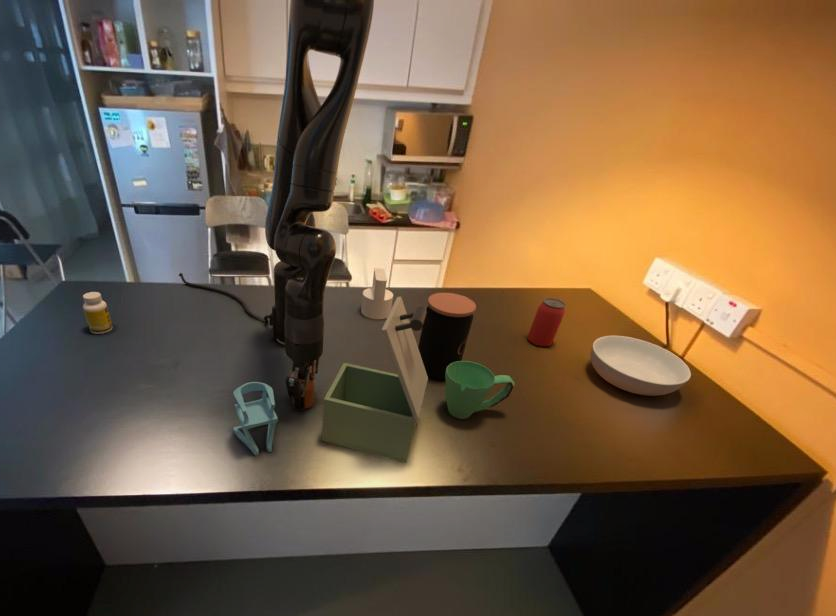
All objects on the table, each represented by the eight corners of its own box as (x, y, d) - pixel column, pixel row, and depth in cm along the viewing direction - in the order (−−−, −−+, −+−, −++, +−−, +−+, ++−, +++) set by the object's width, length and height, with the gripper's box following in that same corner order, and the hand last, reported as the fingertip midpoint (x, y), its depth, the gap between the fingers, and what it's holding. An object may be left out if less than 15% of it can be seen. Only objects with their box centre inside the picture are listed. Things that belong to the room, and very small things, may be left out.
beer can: (526, 344, 118) (541, 304, 110) (527, 333, 123) (541, 295, 115) (551, 350, 116) (568, 310, 109) (551, 339, 121) (567, 300, 114)
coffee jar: (458, 384, 100) (477, 316, 90) (413, 377, 102) (427, 309, 91) (457, 360, 109) (475, 295, 98) (415, 354, 110) (428, 289, 99)
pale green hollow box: (321, 440, 83) (323, 399, 77) (340, 402, 93) (343, 362, 87) (406, 462, 79) (415, 421, 73) (416, 420, 89) (425, 380, 83)
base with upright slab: (391, 320, 125) (397, 281, 118) (361, 318, 125) (365, 279, 117) (389, 306, 132) (394, 269, 125) (360, 304, 132) (364, 267, 125)
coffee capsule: (289, 405, 91) (289, 387, 88) (297, 393, 94) (297, 375, 91) (309, 410, 90) (310, 392, 87) (316, 398, 93) (317, 380, 90)
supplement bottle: (115, 331, 111) (105, 297, 105) (92, 336, 109) (81, 301, 103) (111, 322, 115) (101, 289, 109) (88, 327, 112) (77, 293, 106)
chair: (243, 459, 78) (237, 409, 71) (233, 430, 84) (227, 381, 77) (283, 449, 80) (282, 399, 73) (271, 421, 86) (268, 373, 79)
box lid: (381, 330, 65) (414, 322, 63) (396, 297, 75) (426, 289, 73) (414, 419, 73) (444, 415, 71) (424, 378, 83) (451, 374, 81)
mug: (442, 426, 88) (453, 388, 82) (431, 397, 96) (440, 360, 90) (511, 427, 89) (526, 389, 83) (494, 397, 97) (507, 361, 91)
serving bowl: (586, 393, 100) (598, 369, 96) (578, 350, 116) (588, 328, 112) (686, 417, 95) (704, 392, 91) (663, 368, 111) (677, 346, 107)
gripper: (299, 312, 88) (299, 379, 98) (270, 346, 77) (273, 417, 87) (333, 319, 86) (330, 386, 97) (309, 354, 75) (308, 426, 86)
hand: (303, 400), depth 92 cm, fingers closed on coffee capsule, 4 cm apart
